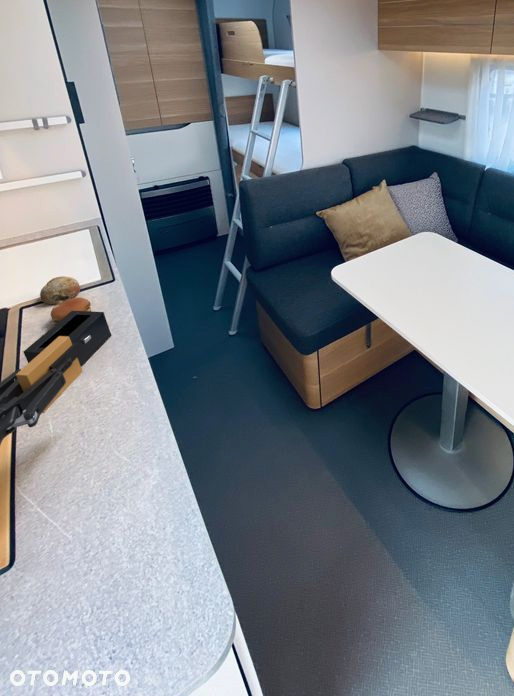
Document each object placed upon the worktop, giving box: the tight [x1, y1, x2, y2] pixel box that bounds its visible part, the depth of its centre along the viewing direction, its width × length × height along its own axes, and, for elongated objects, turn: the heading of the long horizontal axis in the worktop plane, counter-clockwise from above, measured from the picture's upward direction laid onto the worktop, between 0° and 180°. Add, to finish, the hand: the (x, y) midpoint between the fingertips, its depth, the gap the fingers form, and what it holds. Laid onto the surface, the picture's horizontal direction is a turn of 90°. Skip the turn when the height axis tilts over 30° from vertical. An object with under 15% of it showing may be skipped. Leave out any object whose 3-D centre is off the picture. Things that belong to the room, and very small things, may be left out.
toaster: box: [22, 310, 112, 368], centre depth 103 cm, size 10×15×8 cm, turn 175°
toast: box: [16, 336, 83, 414], centre depth 80 cm, size 2×10×10 cm, turn 175°
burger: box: [50, 296, 92, 326], centre depth 118 cm, size 10×9×5 cm
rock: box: [39, 276, 81, 305], centre depth 128 cm, size 10×10×8 cm
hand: (71, 347), depth 85 cm, fingers closed on toast, 2 cm apart
